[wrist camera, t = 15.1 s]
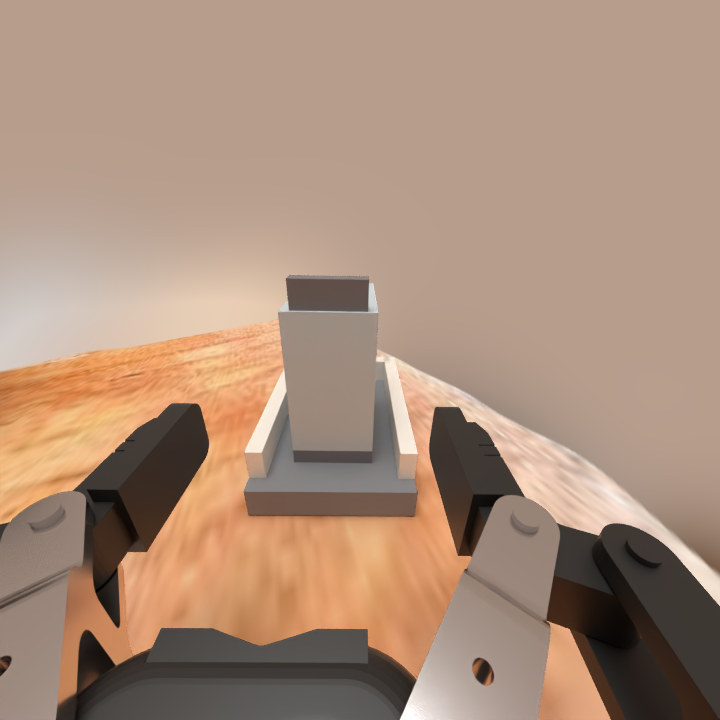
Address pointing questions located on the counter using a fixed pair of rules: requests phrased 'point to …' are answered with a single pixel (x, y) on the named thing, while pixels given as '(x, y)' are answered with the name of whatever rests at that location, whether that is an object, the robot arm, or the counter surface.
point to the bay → (277, 412)
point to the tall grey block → (330, 366)
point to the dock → (335, 479)
